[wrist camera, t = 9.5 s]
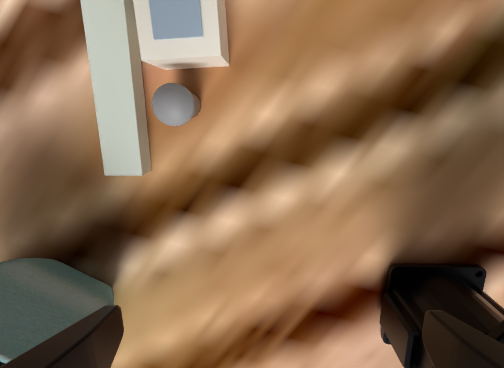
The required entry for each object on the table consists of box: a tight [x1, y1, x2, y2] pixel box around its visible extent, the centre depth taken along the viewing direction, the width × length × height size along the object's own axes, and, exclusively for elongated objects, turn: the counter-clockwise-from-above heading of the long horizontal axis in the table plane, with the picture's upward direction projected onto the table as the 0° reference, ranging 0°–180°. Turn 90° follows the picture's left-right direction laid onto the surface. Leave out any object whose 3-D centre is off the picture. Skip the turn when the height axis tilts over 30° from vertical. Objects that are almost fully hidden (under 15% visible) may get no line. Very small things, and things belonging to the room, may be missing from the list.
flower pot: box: [0, 258, 114, 366], centre depth 19 cm, size 9×9×9 cm
